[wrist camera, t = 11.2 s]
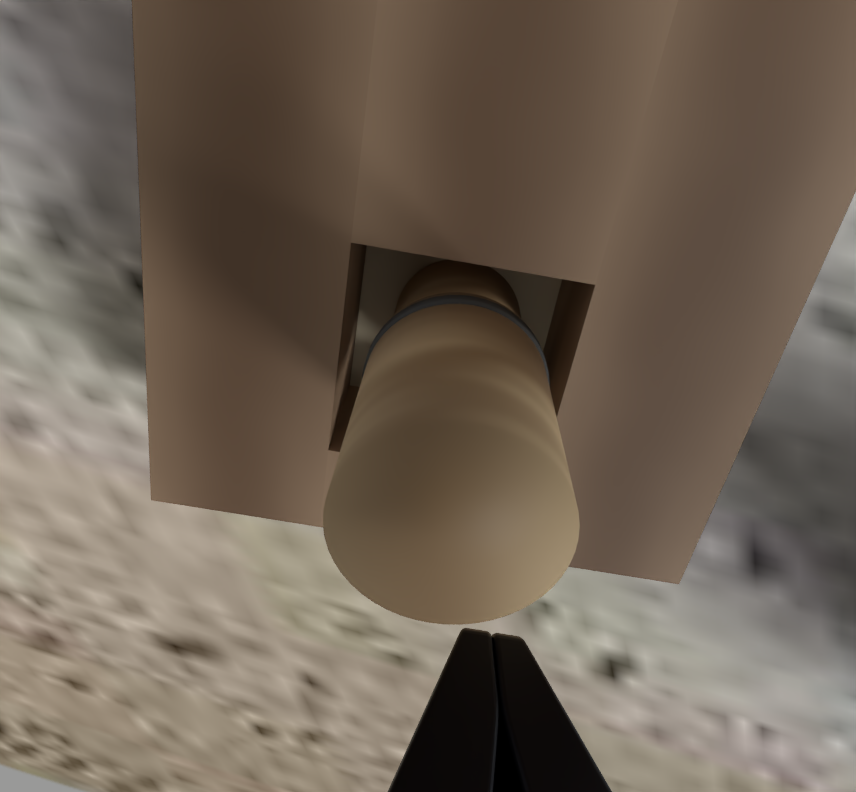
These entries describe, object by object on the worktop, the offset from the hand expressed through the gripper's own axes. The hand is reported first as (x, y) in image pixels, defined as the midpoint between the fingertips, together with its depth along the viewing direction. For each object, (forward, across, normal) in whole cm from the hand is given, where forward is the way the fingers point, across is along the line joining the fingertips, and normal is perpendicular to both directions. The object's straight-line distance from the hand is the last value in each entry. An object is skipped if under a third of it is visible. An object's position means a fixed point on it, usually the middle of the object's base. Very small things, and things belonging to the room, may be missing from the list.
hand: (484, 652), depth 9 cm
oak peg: (+11, +1, 0) cm, 11 cm away
